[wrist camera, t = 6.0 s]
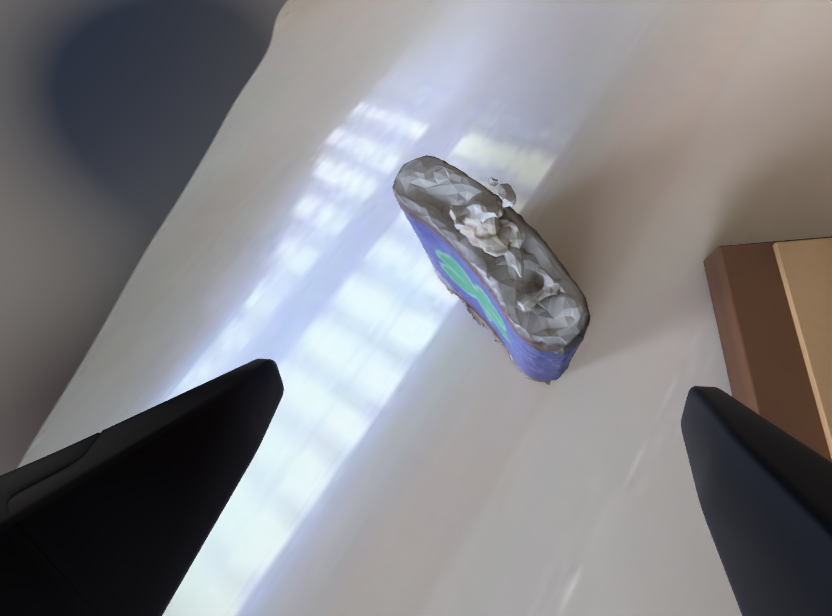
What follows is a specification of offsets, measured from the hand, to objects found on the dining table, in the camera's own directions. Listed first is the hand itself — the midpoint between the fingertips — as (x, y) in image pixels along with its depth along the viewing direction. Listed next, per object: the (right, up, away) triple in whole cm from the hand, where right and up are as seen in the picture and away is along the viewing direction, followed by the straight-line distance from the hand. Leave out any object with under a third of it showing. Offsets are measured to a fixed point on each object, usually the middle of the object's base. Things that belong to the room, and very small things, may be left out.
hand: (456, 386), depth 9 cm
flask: (+4, +1, +13) cm, 14 cm away
